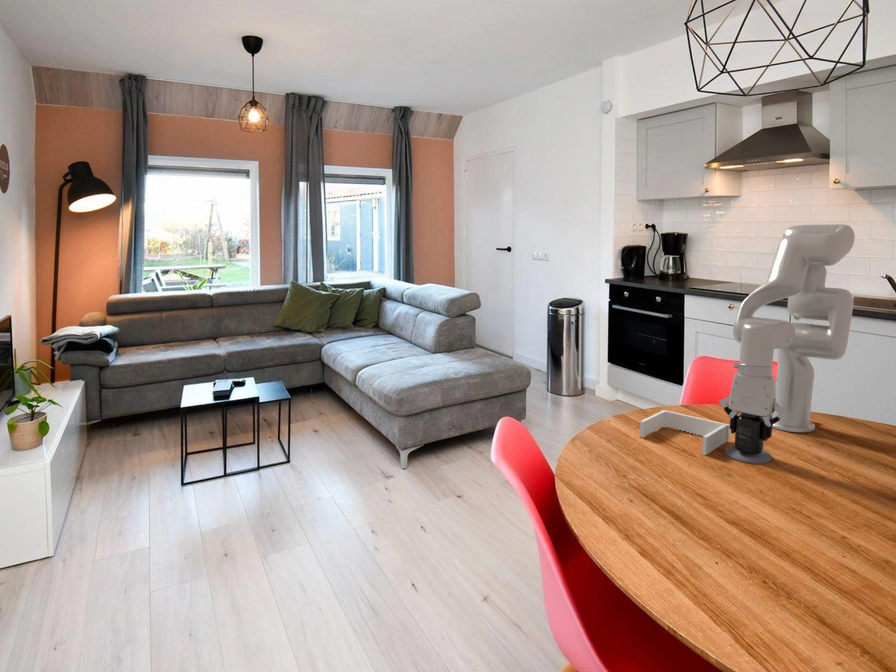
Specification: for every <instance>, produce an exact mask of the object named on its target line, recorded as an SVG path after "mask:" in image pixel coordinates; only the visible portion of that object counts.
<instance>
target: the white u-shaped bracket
mask: <svg viewBox="0 0 896 672" xmlns="http://www.w3.org/2000/svg"><path fill="white" fill-rule="evenodd" d="M663 426H668V427H671V428H675V429H679V430H682V431H681V432H683V431H686V432H685V433H687V432H689V433H688V434H691V433H693V434H692V435H695V434H696V435H695V436H699V435H700V436H699V437H702V446H701V447H702V448H701V455H703V456H707V455H708V454H710V453H711V452H714V450H715V449H717V448H719V447H720V446H722V445H724V444H725V443H727V442H728V443H729V442H730V433H731V429H730V423H724V422H721V421H716V420H710V419H706V418H701V417H697V416H693V415H688V414H684V413H679V412H675V411H671V410H665V409H660V411H659V412H656V413H655V414H652V415H651V416H648V417H646V418H644V419H641V420H640V422H639V437H640V436H641V437H644V436H646V435H648V434H650V433H652V432H654V431H655V430H657V429H659V428H661V427H663ZM671 428H670V429H671ZM675 429H674V430H675ZM679 430H678V431H679ZM654 433H655V432H654ZM652 434H653V433H652ZM650 435H651V434H650ZM648 436H649V435H648ZM646 437H647V436H646ZM644 438H645V437H644Z"/></svg>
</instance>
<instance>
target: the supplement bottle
mask: <svg viewBox="0 0 896 672" xmlns="http://www.w3.org/2000/svg"><path fill="white" fill-rule="evenodd" d="M764 425H765V421H764V419H763V417H760V416H755V415H750V414H745V413H741V414H738V416H737V418H736V429H735V433H734V445H733V446H734V447H735V449H736V450H738V451H740V452H742V453H747V454H760V453H762V452H763V450H764V446H765V443H764V442H765V441H763V440H762V437H763V426H764Z"/></svg>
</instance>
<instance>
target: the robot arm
mask: <svg viewBox="0 0 896 672" xmlns="http://www.w3.org/2000/svg"><path fill="white" fill-rule="evenodd" d="M855 238H856V237H855V232H854V229H853V228H852V227H851V226H850V225H847V224H841V223H840V224H839V223H838V224H800V225H794V226H789V227H788V228H786V229H785V230H784V232H783V234H782V238H781V240H780V241H779V243H778V246H777V248H776V251H775V254H774V257H773V261H772V264H771V267H770V271H769V273H768V276H767V280H766V281H765V283H763V284H761V285H760V286H759V287H757V288H756V289H754V290H753V291H752V292H751V293H750V294H749V295H748V296H746V298H744V300H743V301H742V302H741V304H740V306H739V308H738V311H737V314H736V317H735V321H734V325H733V329H732V332H733V333H732V334H733V338H734V340H735V341H736V342H737V343H740V350H739V361H738V362H734V363H733V369H736V370H737V372H735V373H734V376H733V380H732V384H731V387H730V393H729V395H728V396H726V397H724V398H722V399H721V400H719V404H720V406H721V407H722V408H723V411H724V412H725V414H727V416H728V418H729V419H730V420H729V425H730V433H731V434H735V429H736V418H737V416H738V415H739V413H741V414H742V413H745V414H750V415H755V416H760V417H763V419H764V421H765V425H764V426H763V437H762V440H763V441H764V442H766V441H767V440H769V439H771V437H772V433H773V428H774V429H777V430H779V431H780V430H781V431H784V432H792V433H811V432H813V431H815V429H816V425H815V424H814V423H813V422H812V421H810V417H811V408H812V399H813V390H814V381H815V368H814V366H813V365H812V363H811V361H810V360H809V359H808V358H816V359H822V360H823V359H825V360H840V359H842V358H843V357H844V356H845V353H846V351H847V348H848V342H849V336H850V330H851V329H850V328H851V322H852V317H853V309H854V299H853V295H852V294H851V292H850V291H849V290H847V289H845V288H841V287H840V288H839V287H826V279H827V268H826V267H830V266H834V265H836V264H837V263H838V262H840V261H841V260H842V259H844V257H846V256H847V255H848V254H849V253H850V251H851V250H852V248H853V246H854V243H855ZM783 299H787V313H788V314H789V316H791V317H793V318H797V319H802V320H803V319H804V320H813V321H823V322H824V321H825V322H829V325H825V324H824V325H823V324H814V323H803V322H789V321H788V320H783V319H776V318H775V319H774V318H766V317H764V318H763V317H758V316H757V317H754V315H755V314H756V312H757V311H758V310H759V309H761V308H762V307H763V306H764V307H765V306H766V305H768V304H771V303H774V302H777V301H780V300H783ZM775 350H777V368H776V378H775V377H774V376H772V373H773V364H774V363H773V361H774V351H775ZM775 379H776V380H775Z"/></svg>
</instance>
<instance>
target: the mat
mask: <svg viewBox="0 0 896 672" xmlns="http://www.w3.org/2000/svg"><path fill="white" fill-rule="evenodd" d="M724 454H725V455H726V457H728V458H729V459H731V460H734V461H738V462H740V463H745V464H750V465H751V464H752V465H765V464H768V463H770V462H772V460H773V459H772V458H773V457H772V455H771V453H769V452H768V451H765V450H764V449H763V452H762V453H760V454H747V453H742V452H740V451H738V450H736V449H735V447H734V445H733V446H728V447H726V448H725V449H724Z"/></svg>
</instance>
